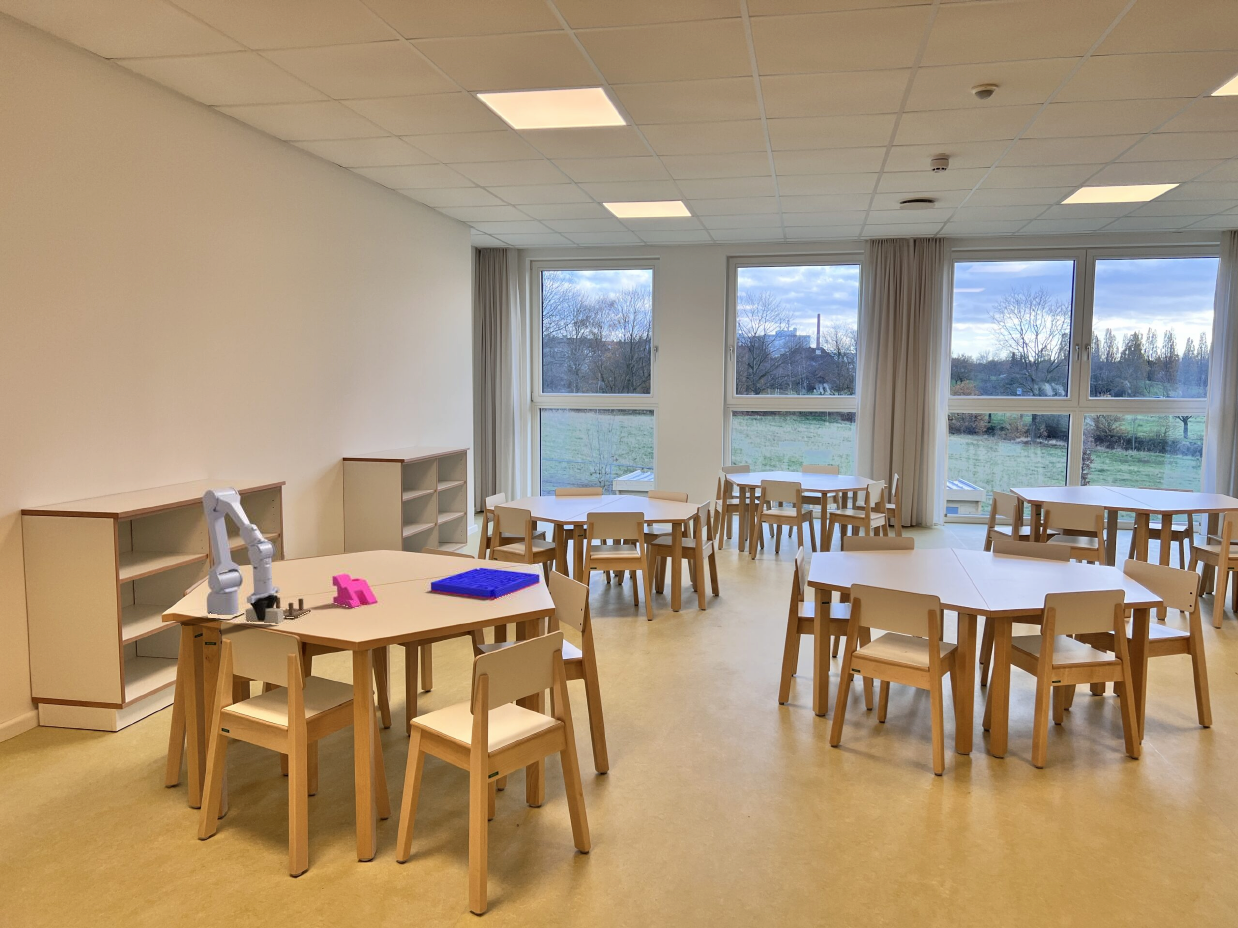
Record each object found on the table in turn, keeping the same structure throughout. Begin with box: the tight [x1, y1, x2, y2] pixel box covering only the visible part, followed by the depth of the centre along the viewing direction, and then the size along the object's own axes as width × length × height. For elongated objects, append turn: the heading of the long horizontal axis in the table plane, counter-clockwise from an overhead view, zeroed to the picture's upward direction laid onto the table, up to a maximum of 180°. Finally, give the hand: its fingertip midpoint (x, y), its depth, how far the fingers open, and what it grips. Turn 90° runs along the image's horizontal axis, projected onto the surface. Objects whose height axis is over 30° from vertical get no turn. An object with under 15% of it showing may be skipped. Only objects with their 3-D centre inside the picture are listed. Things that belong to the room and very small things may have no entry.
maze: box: [430, 567, 540, 600], centre depth 324 cm, size 30×30×4 cm
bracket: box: [331, 573, 378, 609], centre depth 300 cm, size 12×10×10 cm
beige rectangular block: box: [244, 606, 285, 624], centre depth 275 cm, size 12×3×5 cm, turn 78°
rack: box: [275, 596, 311, 619], centre depth 286 cm, size 14×9×5 cm, turn 78°
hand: (264, 619), depth 275 cm, fingers closed on beige rectangular block, 3 cm apart
